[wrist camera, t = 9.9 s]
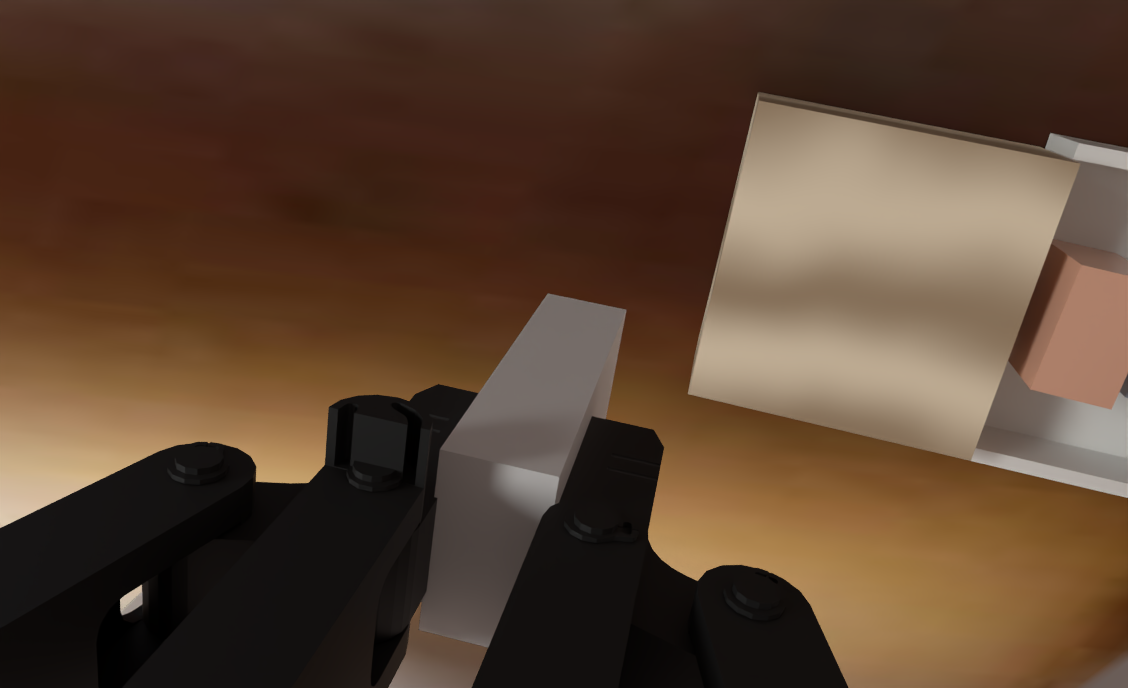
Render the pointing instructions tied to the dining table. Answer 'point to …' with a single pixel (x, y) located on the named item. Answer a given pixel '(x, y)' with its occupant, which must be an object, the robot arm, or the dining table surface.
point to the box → (1051, 423)
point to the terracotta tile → (1076, 326)
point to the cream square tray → (876, 272)
